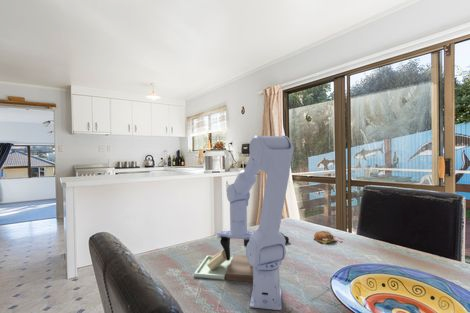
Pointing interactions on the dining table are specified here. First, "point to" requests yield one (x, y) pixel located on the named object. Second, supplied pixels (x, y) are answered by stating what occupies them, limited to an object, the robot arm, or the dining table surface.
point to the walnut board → (240, 269)
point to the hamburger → (324, 237)
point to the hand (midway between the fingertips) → (239, 259)
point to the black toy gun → (280, 232)
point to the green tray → (217, 273)
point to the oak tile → (217, 260)
